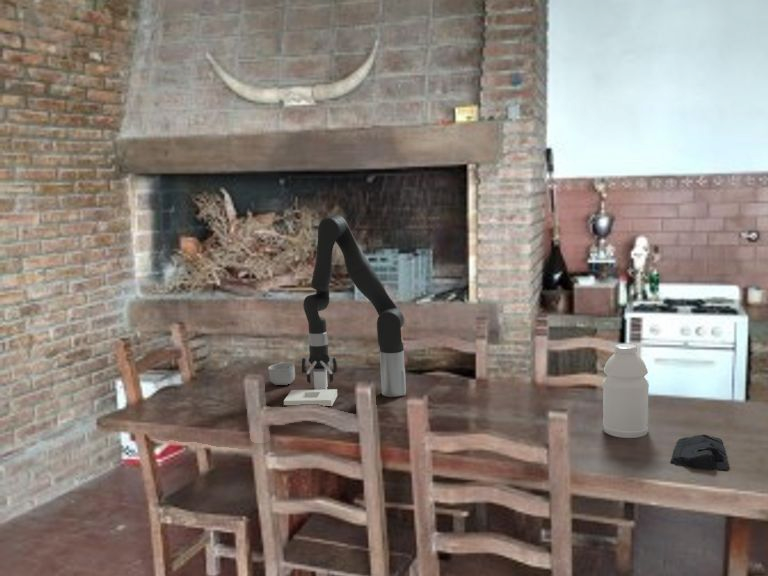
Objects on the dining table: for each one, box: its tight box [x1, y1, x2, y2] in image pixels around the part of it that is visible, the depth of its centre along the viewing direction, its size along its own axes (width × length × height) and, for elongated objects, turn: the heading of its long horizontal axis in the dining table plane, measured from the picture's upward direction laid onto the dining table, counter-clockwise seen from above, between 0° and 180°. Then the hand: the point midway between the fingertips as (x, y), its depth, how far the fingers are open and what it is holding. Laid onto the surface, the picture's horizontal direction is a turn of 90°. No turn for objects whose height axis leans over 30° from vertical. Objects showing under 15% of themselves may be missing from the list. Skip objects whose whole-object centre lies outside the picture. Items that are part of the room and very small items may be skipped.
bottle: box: [602, 343, 650, 439], centre depth 238 cm, size 14×14×28 cm
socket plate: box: [283, 388, 338, 407], centre depth 287 cm, size 18×14×2 cm
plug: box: [312, 367, 329, 390], centre depth 302 cm, size 4×5×9 cm
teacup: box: [267, 361, 296, 386], centre depth 314 cm, size 14×11×8 cm
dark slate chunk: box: [670, 434, 730, 471], centre depth 218 cm, size 15×22×5 cm
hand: (320, 382), depth 303 cm, fingers open, 8 cm apart
